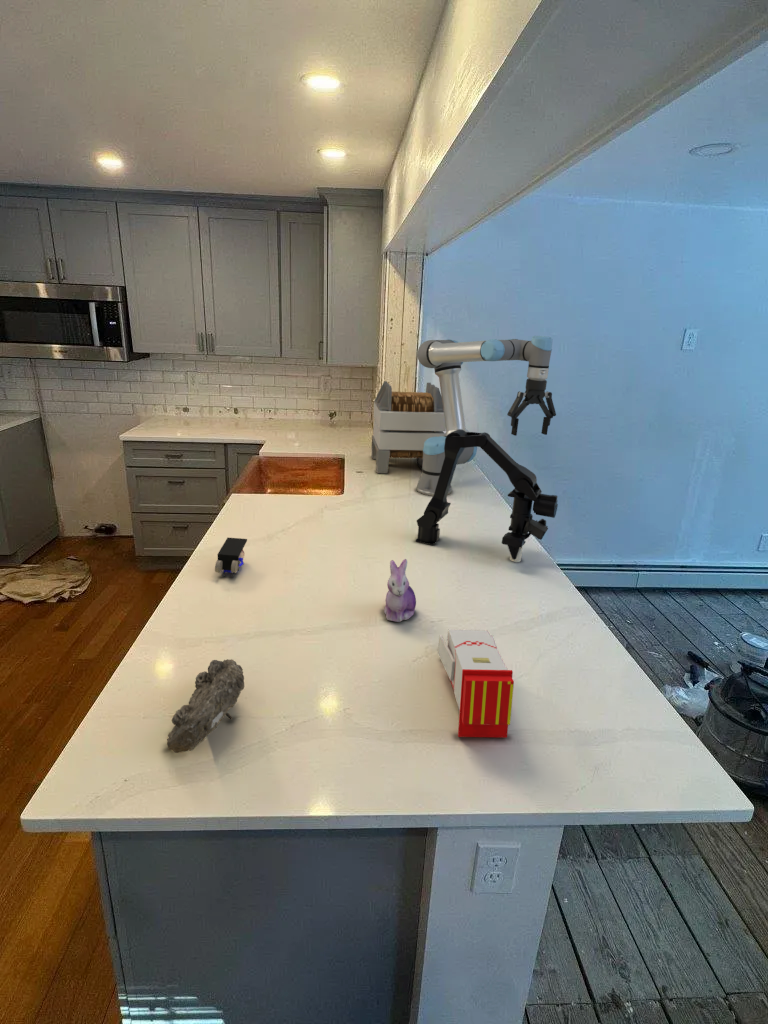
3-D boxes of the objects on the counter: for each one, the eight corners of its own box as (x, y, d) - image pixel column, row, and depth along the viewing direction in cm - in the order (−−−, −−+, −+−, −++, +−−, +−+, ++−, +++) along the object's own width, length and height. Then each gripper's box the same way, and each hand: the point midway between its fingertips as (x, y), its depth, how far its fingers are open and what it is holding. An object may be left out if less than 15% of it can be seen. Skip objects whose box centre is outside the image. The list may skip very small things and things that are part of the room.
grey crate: (370, 456, 302) (373, 378, 288) (430, 457, 305) (436, 380, 292) (376, 473, 270) (380, 387, 256) (443, 474, 274) (450, 389, 260)
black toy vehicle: (238, 584, 162) (249, 557, 175) (236, 562, 158) (247, 536, 172) (215, 584, 161) (227, 556, 175) (212, 561, 158) (225, 535, 171)
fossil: (192, 660, 117) (244, 628, 112) (224, 691, 120) (276, 661, 115) (142, 746, 98) (202, 712, 93) (182, 779, 101) (242, 748, 96)
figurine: (392, 627, 141) (395, 572, 136) (374, 608, 149) (376, 556, 144) (425, 619, 145) (429, 566, 140) (405, 601, 154) (408, 550, 149)
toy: (488, 613, 130) (523, 677, 101) (484, 667, 133) (517, 744, 104) (435, 612, 130) (455, 676, 101) (432, 666, 133) (451, 743, 103)
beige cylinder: (509, 561, 182) (511, 548, 180) (509, 557, 185) (511, 544, 184) (521, 562, 181) (522, 549, 180) (520, 558, 185) (522, 545, 183)
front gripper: (541, 525, 166) (534, 573, 172) (553, 507, 182) (546, 552, 188) (504, 518, 171) (498, 565, 176) (518, 501, 187) (513, 545, 192)
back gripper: (513, 380, 206) (505, 437, 214) (570, 380, 214) (561, 435, 222) (502, 377, 213) (496, 433, 220) (559, 377, 221) (550, 431, 228)
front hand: (515, 556), depth 183 cm, fingers closed on beige cylinder, 3 cm apart
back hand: (529, 434), depth 221 cm, fingers open, 13 cm apart
